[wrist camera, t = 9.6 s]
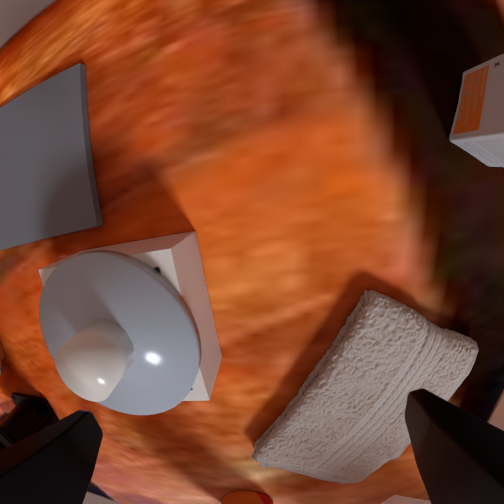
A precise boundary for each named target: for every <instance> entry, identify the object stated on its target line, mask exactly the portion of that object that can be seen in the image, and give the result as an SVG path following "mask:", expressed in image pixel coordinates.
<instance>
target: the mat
mask: <svg viewBox="0 0 504 504" xmlns="http://www.w3.org/2000/svg"><path fill="white" fill-rule="evenodd" d="M101 225H103V220H102V215H101V210H100V204H99V198H98V192H97V186H96V180H95V173H94V166H93V158H92V150H91V141H90V131H89V120H88V107H87V89H86V66H85V65H83V64H81V63H79V64H77V65H75V66H72V67H70V68H68V69H66V70H64V71H62V72H60V73H58V74H56V75H55V76H53V77H51V78H49V79H47V80H45V81H43V82H42V83H40V84H38V85H36V86H35V87H33V88H31V89H29V90H28V91H26V92H24V93H23V94H21V95H19V96H18V97H16V98H15V99H13V100H12V101H10V102H8V103H7V104H5V105H4V106H2V107H1V108H0V250H3V249H7V248H11V247H14V246H18V245H22V244H26V243H30V242H34V241H38V240H42V239H46V238H50V237H54V236H58V235H62V234H67V233H71V232H75V231H80V230H84V229H88V228H93V227H97V226H101Z"/></svg>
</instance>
